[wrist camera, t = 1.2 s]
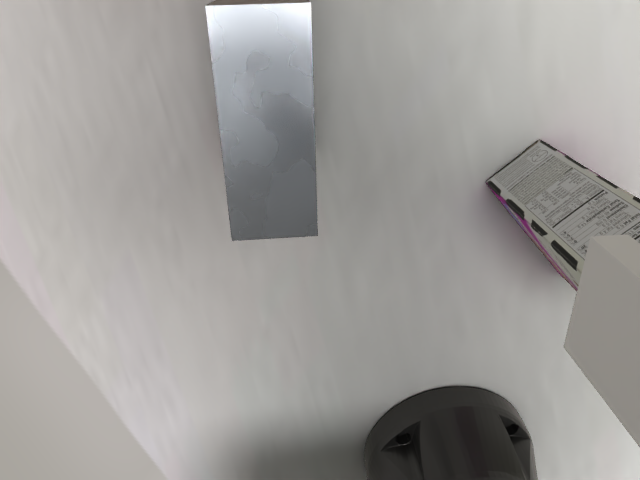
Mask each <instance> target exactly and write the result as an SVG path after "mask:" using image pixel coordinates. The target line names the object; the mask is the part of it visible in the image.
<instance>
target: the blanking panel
mask: <svg viewBox="0 0 640 480" xmlns="http://www.w3.org/2000/svg"><path fill="white" fill-rule="evenodd" d="M205 7H206V16H207V25H208V34H209V43H210V51H211V60H212V69H213V78H214V87H215V96H216V105H217V113H218V122H219V131H220V140H221V149H222V158H223V166H224V175H225V184H226V193H227V202H228V211H229V220H230V228H231V237H232V241H236V240H254V239H271V238H288V237H306V236H318V229H317V194H316V159H315V124H314V89H313V54H312V19H311V2H310V1H309V0H215V1H213V2H211V3H209V4H208V5H206V6H205Z"/></svg>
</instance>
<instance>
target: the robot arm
mask: <svg viewBox="0 0 640 480" xmlns="http://www.w3.org/2000/svg"><path fill="white" fill-rule="evenodd" d="M564 348H565V350H566V351H567V352H568V353H569V355H570V356H571V357H572V359H573V360H574V361H575V363H576V364H577V365H578V367H579V368H580V369H581V371H582V372H583V373H584V375H585V376H586V377H587V378H588V380H589V381H590V382H591V384H592V385H593V386H594V388H595V389H596V390H597V392H598V393H599V394H600V396H601V397H602V398H603V400H604V401H605V402H606V403H607V405H608V406H609V407H610V409H611V410H612V411H613V413H614V414H615V415H616V417H617V418H618V419H619V421H620V422H621V423H622V425H623V426H624V427H625V428H626V430H627V431H628V432H629V434H630V435H631V436H632V438H633V439H634V440H635V442H636V443H637V444H638V446H639V447H640V243H638V242H637V241H636V240H635V239H633V238H632V237H631V236H629V235H628V234H625V235H608V236H592V237H590V240H589V245H588V249H587V253H586V257H585V261H584V265H583V269H582V273H581V277H580V282H579V286H578V290H577V294H576V298H575V302H574V306H573V310H572V315H571V319H570V323H569V327H568V331H567V335H566V339H565V343H564ZM364 462H365V468H366V473H367V479H368V480H538V477H537V470H536V463H535V456H534V449H533V443H532V440H531V437H530V434H529V432H528V430H527V428H526V426H525V424H524V423H523V421H522V419H521V417H520V415H519V414H518V412H517V411H516V409H515V408H514V407H513V406H512V405H511V404H510V403H509V402H508V401H507V400H505V399H504V398H502V397H500V396H498V395H496V394H494V393H492V392H489V391H486V390H482V389H477V388H470V387H450V388H442V389H436V390H432V391H428V392H425V393H422V394H419V395H417V396H414V397H412V398H410V399H408V400H406V401H404V402H402V403H401V404H399V405H397V406H396V407H394V408H393V409H392V410H390V411H389V412H388V413H387V414H386V415H384V416H383V417H382V418H381V419H380V420H379V422H378V423H377V424H376V425H375V427H374V428H373V430H372V431H371V433H370V435H369V437H368V439H367V442H366V445H365V450H364Z"/></svg>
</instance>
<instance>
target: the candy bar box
mask: <svg viewBox="0 0 640 480" xmlns="http://www.w3.org/2000/svg"><path fill="white" fill-rule="evenodd" d="M486 184H487V185H488V187H489V188H490V189H491V190H492V192H493V193H494V194H495V195H496V197H497V198H498V199H499V200H500V202H501V203H502V204H503V205H504V207H505V208H506V209H507V210H508V212H509V213H510V214H511V215H512V216H513V218H514V219H515V220H516V221H517V223H518V224H519V225H520V226H521V227H522V229H523V230H524V231H525V232H526V234H527V235H528V236H529V237H530V238H531V240H532V241H533V242H534V243H535V245H536V246H537V247H538V248H539V249H540V251H541V252H542V253H543V254H544V255H545V257H546V258H547V259H548V260H549V262H550V263H551V264H552V265H553V266H554V268H555V269H556V270H557V272H558V273H559V274H560V275H561V276H562V277H563V278H564V279H565V280H566V281H567V282H568V283H569V284H570V285H571V286H572V287H573V288H574V289H575V290H576V291H577V290H578V286H579V282H580V277H581V273H582V269H583V265H584V261H585V257H586V253H587V249H588V245H589V240H590V237H592V236H608V235H625V234H628V235H629V236H631V237H632V238H633V239H635V240H636V241H637V242H638V243H640V199H639V198H637V197H635V196H633V195H632V194H630V193H628V192H627V191H625V190H623V189H621V188H619V187H618V186H616V185H614V184H613V183H611V182H609V181H608V180H606V179H604V178H603V177H601V176H600V175H598V174H597V173H595V172H593V171H592V170H589V169H588V168H586V167H584V166H583V165H581V164H580V163H578V162H577V161H575V160H573V159H572V158H570V157H568V156H567V155H565V154H564V153H562V152H560V151H558V150H557V149H555V148H554V147H552V146H550V145H549V144H547V143H546V142H544V141H542V140H539V141H537V142H536V143H534V144H533V145H531V146H530V147H529V148H527V149H526V150H525V151H524V152H523V153H522V154H521V155H519V156H518V157H517V158H516V159H515V160H513V161H512V162H511V163H510V164H508V165H507V166H505V167H504V168H503V169H501V170H500V171H499V172H497V173H496V174H495V175H494V176H493V177H491V178H490V179H489V180H487V181H486Z"/></svg>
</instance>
